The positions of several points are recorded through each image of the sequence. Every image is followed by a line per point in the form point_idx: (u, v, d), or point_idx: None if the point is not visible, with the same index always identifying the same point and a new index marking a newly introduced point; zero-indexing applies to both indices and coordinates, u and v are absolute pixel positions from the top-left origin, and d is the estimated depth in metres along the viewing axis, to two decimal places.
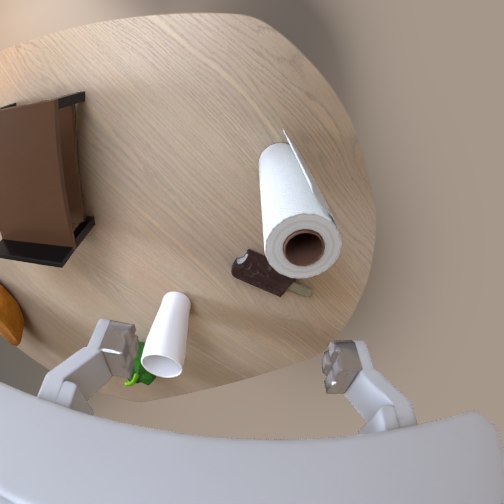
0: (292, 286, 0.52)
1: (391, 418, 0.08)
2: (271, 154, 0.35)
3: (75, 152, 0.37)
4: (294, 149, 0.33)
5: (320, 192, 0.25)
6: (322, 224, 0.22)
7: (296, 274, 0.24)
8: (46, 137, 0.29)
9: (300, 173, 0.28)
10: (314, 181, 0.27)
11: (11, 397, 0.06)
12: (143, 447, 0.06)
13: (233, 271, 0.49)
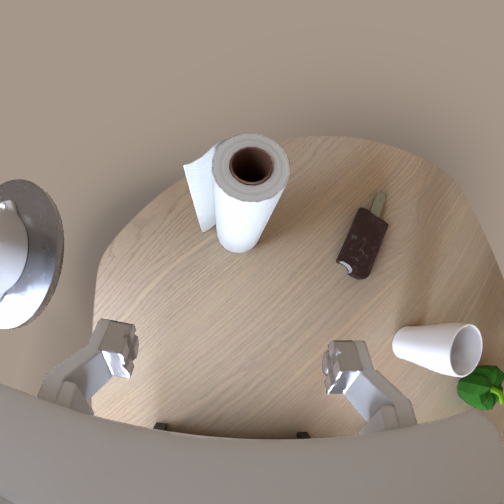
0: (375, 211, 0.44)
1: (391, 418, 0.08)
2: (219, 236, 0.38)
3: None
4: (211, 213, 0.37)
5: None
6: (223, 151, 0.22)
7: (284, 170, 0.22)
8: None
9: None
10: None
11: (11, 397, 0.06)
12: (143, 446, 0.06)
13: (361, 276, 0.42)
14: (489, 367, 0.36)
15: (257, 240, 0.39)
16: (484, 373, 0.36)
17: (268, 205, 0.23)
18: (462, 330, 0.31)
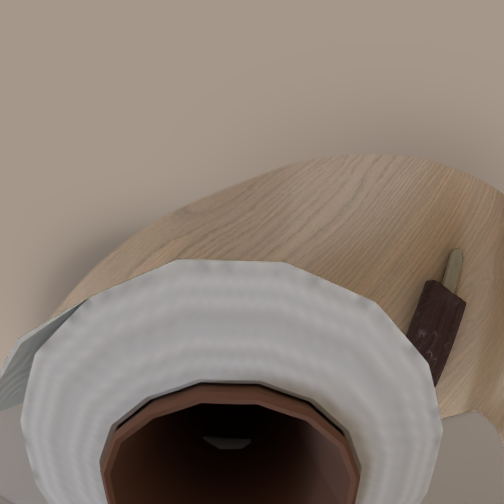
0: (450, 284, 0.25)
1: None
2: None
3: None
4: None
5: None
6: (60, 400, 0.03)
7: (412, 480, 0.03)
8: None
9: None
10: None
11: None
12: None
13: None
14: None
15: None
16: None
17: None
18: None
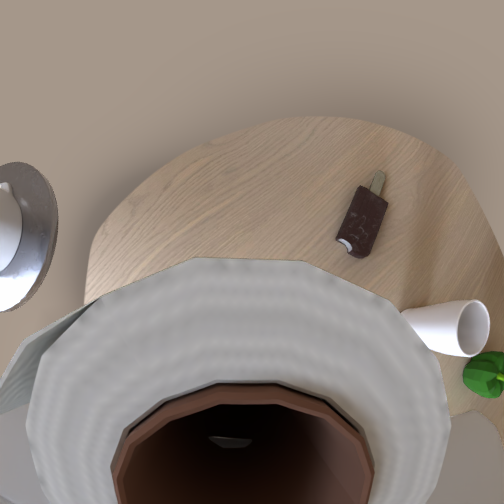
0: (375, 190, 0.43)
1: None
2: None
3: None
4: None
5: None
6: (68, 403, 0.03)
7: (422, 476, 0.03)
8: None
9: None
10: None
11: None
12: None
13: (362, 254, 0.40)
14: (495, 353, 0.35)
15: None
16: (490, 359, 0.35)
17: None
18: (468, 308, 0.30)
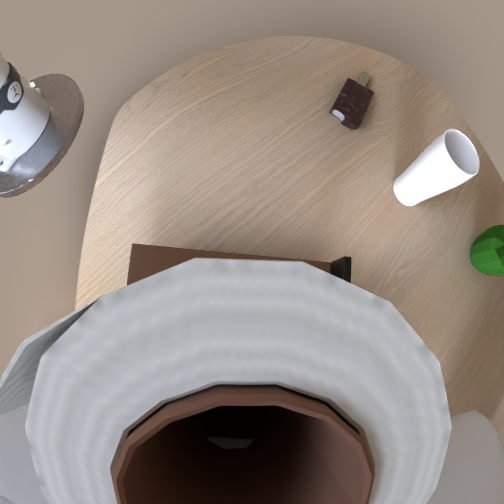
0: (361, 83, 0.46)
1: None
2: None
3: None
4: None
5: None
6: (68, 404, 0.03)
7: (422, 477, 0.03)
8: (173, 263, 0.30)
9: None
10: None
11: None
12: None
13: (354, 122, 0.43)
14: (498, 225, 0.37)
15: None
16: (494, 230, 0.37)
17: None
18: (455, 150, 0.32)
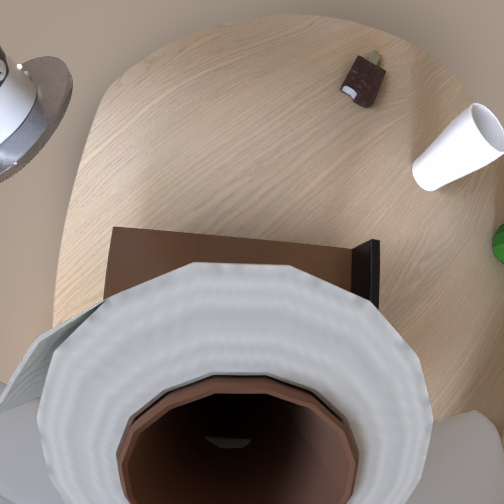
0: (372, 62, 0.40)
1: None
2: None
3: None
4: None
5: None
6: (79, 395, 0.03)
7: (406, 467, 0.03)
8: (161, 249, 0.25)
9: None
10: None
11: None
12: None
13: (367, 99, 0.37)
14: None
15: None
16: None
17: None
18: (479, 127, 0.27)
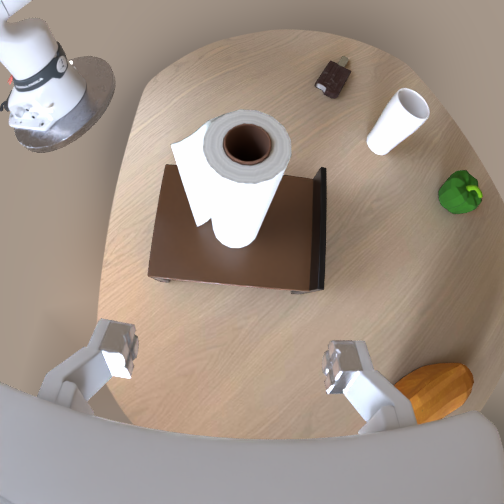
0: (341, 65, 0.56)
1: (391, 418, 0.08)
2: (215, 229, 0.35)
3: None
4: (205, 204, 0.34)
5: None
6: (216, 128, 0.19)
7: (285, 149, 0.19)
8: None
9: None
10: None
11: (11, 397, 0.06)
12: (143, 447, 0.06)
13: (333, 92, 0.53)
14: None
15: (256, 234, 0.36)
16: (456, 174, 0.48)
17: (267, 189, 0.20)
18: (412, 105, 0.43)
